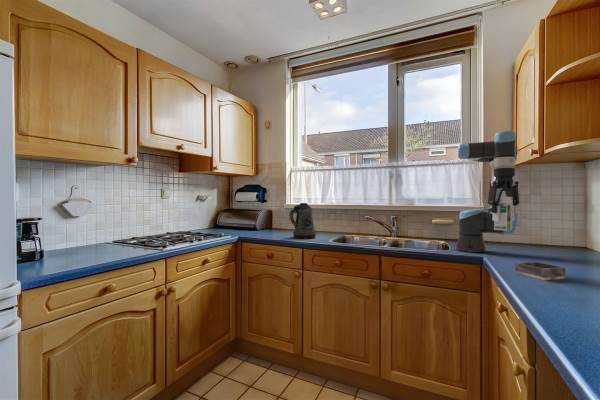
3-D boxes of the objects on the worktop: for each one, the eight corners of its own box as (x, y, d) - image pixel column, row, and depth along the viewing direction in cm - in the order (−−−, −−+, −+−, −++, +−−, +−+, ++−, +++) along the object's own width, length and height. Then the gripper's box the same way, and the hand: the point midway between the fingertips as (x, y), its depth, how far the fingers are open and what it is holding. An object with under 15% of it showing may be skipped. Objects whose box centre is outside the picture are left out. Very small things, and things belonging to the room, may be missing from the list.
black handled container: (319, 237, 211) (320, 203, 211) (306, 240, 194) (306, 203, 194) (300, 235, 220) (301, 202, 219) (286, 238, 203) (286, 203, 203)
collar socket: (535, 271, 117) (535, 261, 117) (565, 278, 106) (565, 267, 106) (515, 272, 114) (515, 262, 114) (544, 280, 104) (544, 269, 104)
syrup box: (493, 230, 125) (494, 196, 124) (496, 228, 129) (497, 196, 129) (509, 231, 121) (510, 196, 120) (512, 229, 125) (513, 196, 124)
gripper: (493, 166, 118) (492, 221, 118) (530, 167, 123) (529, 220, 124) (478, 167, 125) (477, 220, 126) (513, 169, 130) (512, 219, 131)
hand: (503, 220), depth 125 cm, fingers closed on syrup box, 7 cm apart
